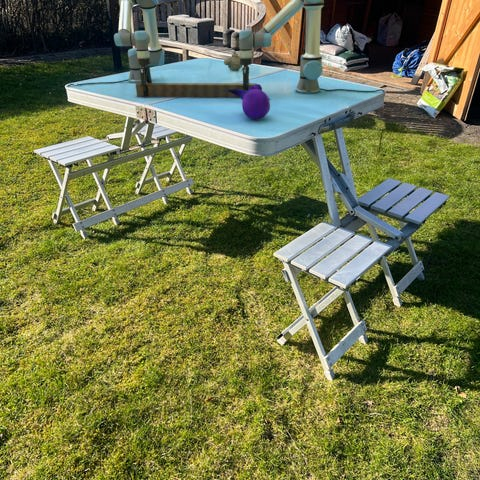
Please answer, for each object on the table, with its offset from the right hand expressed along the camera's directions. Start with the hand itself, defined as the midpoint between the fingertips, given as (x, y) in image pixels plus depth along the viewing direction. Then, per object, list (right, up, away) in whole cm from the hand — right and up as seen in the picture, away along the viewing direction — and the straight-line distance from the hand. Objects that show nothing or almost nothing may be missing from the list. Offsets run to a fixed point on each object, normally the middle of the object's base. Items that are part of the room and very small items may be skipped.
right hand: (246, 96), depth 288 cm
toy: (+2, -25, -41) cm, 48 cm away
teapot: (-7, +47, +81) cm, 94 cm away
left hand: (-65, +3, +7) cm, 65 cm away
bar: (-32, +1, +4) cm, 33 cm away
